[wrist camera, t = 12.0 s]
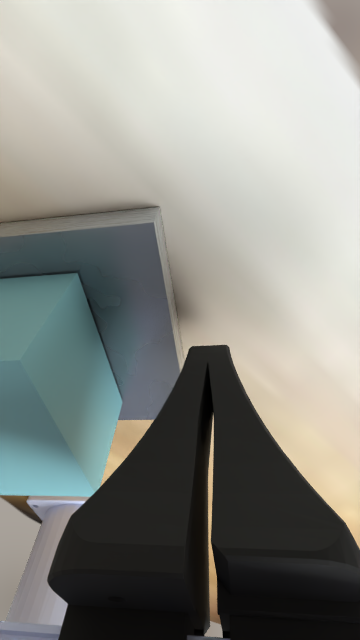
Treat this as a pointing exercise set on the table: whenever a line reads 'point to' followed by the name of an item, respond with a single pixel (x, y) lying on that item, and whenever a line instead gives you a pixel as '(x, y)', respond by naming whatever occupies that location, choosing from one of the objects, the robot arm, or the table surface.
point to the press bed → (112, 292)
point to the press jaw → (53, 389)
